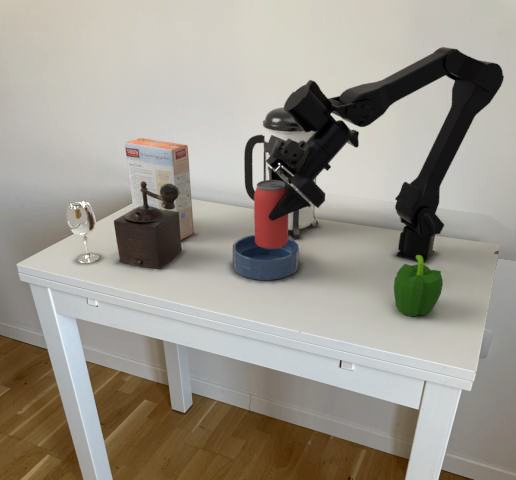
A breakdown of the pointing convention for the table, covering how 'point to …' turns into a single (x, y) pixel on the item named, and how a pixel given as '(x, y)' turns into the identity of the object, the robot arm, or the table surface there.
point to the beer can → (264, 202)
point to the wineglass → (82, 225)
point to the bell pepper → (417, 288)
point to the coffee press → (284, 129)
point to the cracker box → (161, 176)
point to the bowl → (264, 259)
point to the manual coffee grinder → (150, 231)
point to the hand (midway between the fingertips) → (264, 213)
